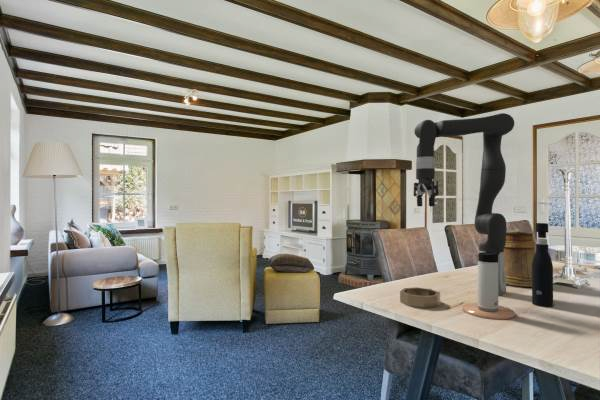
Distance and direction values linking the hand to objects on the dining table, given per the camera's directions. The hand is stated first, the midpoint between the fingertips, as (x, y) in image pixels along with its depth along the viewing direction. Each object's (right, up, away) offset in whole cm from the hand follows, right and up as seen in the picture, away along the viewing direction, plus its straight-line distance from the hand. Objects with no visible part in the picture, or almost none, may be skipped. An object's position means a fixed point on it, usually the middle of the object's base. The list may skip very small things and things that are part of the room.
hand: (425, 206), depth 150 cm
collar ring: (-8, -36, -17) cm, 41 cm away
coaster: (+11, -36, -28) cm, 47 cm away
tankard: (+49, -36, +17) cm, 64 cm away
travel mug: (+12, -35, -28) cm, 47 cm away
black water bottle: (+36, -36, -20) cm, 55 cm away
